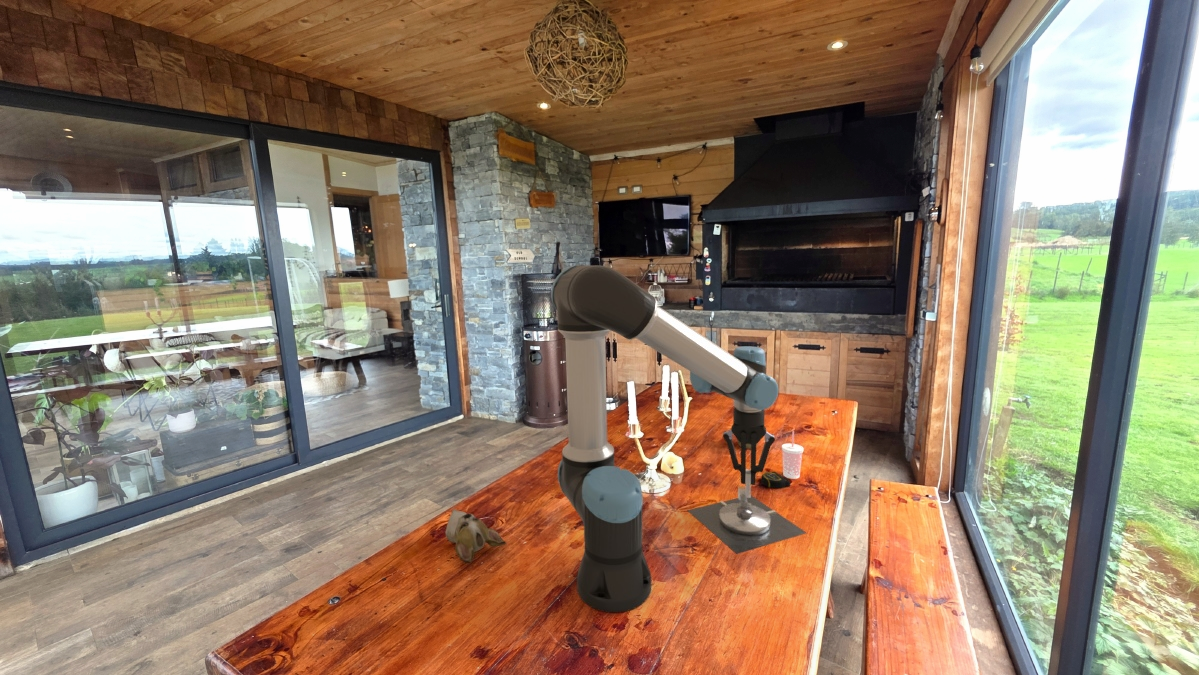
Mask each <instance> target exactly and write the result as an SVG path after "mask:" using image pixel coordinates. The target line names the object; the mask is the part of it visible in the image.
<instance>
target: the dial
mask: <svg viewBox="0 0 1199 675" xmlns="http://www.w3.org/2000/svg"><path fill="white" fill-rule="evenodd" d="M737 498H738V500H739V503H733V504H728V505H725V506H724V507H722V508H721V509H720V512H719V520H720V523H721V524H722V525H723V526H724V527H725V528H727V529H728V530H730V531H733V532H735V533H739V534H744V535H758V534H762V533H764V532H766V531H767V530H769V528H770V516H769V514H768V513H767V512H766V511H764V510H763V509H761V508H759V507H757V506H754V505H750V504H748V501H747V496H746V492H745V486H744V485H743V486H742V485H738V486H737Z"/></svg>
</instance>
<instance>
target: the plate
mask: <svg viewBox="0 0 1199 675" xmlns="http://www.w3.org/2000/svg"><path fill="white" fill-rule="evenodd" d="M747 501H748V504H750V505H754V506H757V507H759V508H761V509H763V510H764V511H766V512H767V513H768V514H769V516H770V528H769V530H767V531H766V532H764V533H762V534H758V535H744V534H739V533H735V532H733V531H730V530H728V529H727V528H725V527H724V526H723V525H722V524H721V523H720V520H719V512H720V509H721V508H722V507H724V506H725V505H728V504H733V503H739V500H738V497H736V498H732V499H729V500H725V501H723V500H719V502H716V503H712V504H709V505H704V506H700V507H696V508H691V509H688V510H687V512H688V513H689V514H691V516H693V517H694V518H695V519H696V520H697V521H699V522H700V523H701V524H702V525H703V526H704V527H706V528H707V530H709V531H710V533H712V534H713V535H714V536H716V537H717V538H718V539H719V540H720V541H721V542H722V543H723V544H724V545H725V546H726V547H728V549H730V550H731V551H732V552H734V553H735V554H736V555H738V554H741V553H745V552H748V551H751V550H755V549H758V548H762V547H765V546H768V545H772V544H776V543H777V542H778V543H779V542H781V541H785V540H789V539H792V538H794V537H799V536H802V535H805V534H807V532H806V531H804V530H803V529H801V527H799V526H797V525H796V524H795V523H793V522H792V521H791V520H788V519H787V518H785V517H784V516H783V515H781V514H780V513H778V512H777V511H776V510H775V509H772V508H771V507H769V506H768V505H766V504H765V503H763V502H762V501H761V500H759V499H758V498H756V497H755V496H753V495H751V498H747Z"/></svg>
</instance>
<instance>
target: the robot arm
mask: <svg viewBox="0 0 1199 675" xmlns="http://www.w3.org/2000/svg"><path fill="white" fill-rule="evenodd" d="M550 291H551V292H550V297H551V301H552V305H553V307H554V309H555V310H556V312H557V313H556V314H557V316H556V318H557V330H558V332H559V333H560V334H561V335H562V336H563V337H564V338H565V342H564V343H565V369H566V371H565V372H566V395H567V396H566V398H567V400H566V401H567V431H568V432H567V433H568V434H567V436H568V443H567V444H566V445H565V446H564V447H563V448H562V451H561V456H562V459H561V460H560V462H559V465H558V468H557V480H558V484H559V487H560V489H561V492H562V494H564V496H565V497H566V499H567V500H568V501H569V503H570V504H571V505H572V507H573V508H574V510H575V511H576V513H577V514H578V515H579V517H580V519H581V520H582V524H583V535H584V536H583V537H584V539H583V541H584V542H583V543H584V552H583V556H582V558H581V561H580V565H579V569H578V570H577V575H576V587H577V588H576V589H577V594H578V597H580V599H581V600H582V601H583V602H584V603H585V604H586V605H587V606H590V607H591V608H592V609H595V610H598V611H601V612H605V613H606V612H607V613H622V612H628V611H631V610H634V609H636V608H637V607H639V606H642V604H644V603H645V602H646V601H647V600H648V598H649V597H650V594H651V591H652V573H651V571H650V568H649V566H648V562H647V560H646V557H645V554H644V552H643V505H644V504H643V502H644V499H643V498H644V497H643V492H642V485H641V482H640V480H639V479H638V477H637V476H636V475H635V474H634V473H633V472H632V471H630V470H629V469H626V468H623V469H621V467H620V466H615V448H614V446H613V445H612V444H610V442H608V418H607V417H608V414H607V412H608V411H607V366H606V365H607V364H606V363H607V361H606V360H607V356H606V337H607V335H608V334H609V333H610V332H614V333H616V334H617V335H620V336H622V337H623V338H625V339H626V340H629V341H631V340H634V339H636V340H638V341H640V342H642V343H643V344H644V345H646V346H647V347H649V348H651V349H653V350H654V351H656V352H658V353H659V354H661V355H663V356H665V357H666V358H668V359H669V360H671V361H672V362H674V363H676V364H677V365H679V366H681V367H683V368H684V369H686V370H688V372H689V379H690V384H691V386H692V388H693V389H694V391H695V392H697V393H698V394H704V393H705V394H710V393H716V394H719V395H722V396H724V397H726V398H729V399H732V400H733V402H732V405H733V407H734V408H732V409H733V412H732V413H733V416H732V418H733V420H732V421H733V422H732V423H733V424H732V425H731V429H728V430H726V431H723V433H722V438H723V439H724V441H725V443H726V444H727V447H728V453H729V456H730V460H731V463H732V464H731V465H732V466H733V470H734V471H739V472H740V484H741V485H745V486H744V487H745V492H746V496H747V498H751V496H752V494H751V492H752V491H751V490H752V486H755V485H756V482H757V481H756V475H757V473H762V472H764V470H765V466H766V464H767V463H766V462H767V458H768V456H769V452H770V450H771V446H772V445H773V444H774V443H775V441H776V437H775V435H774V434H773V433H769V432H768V431H767V428H766V426H765V415H766V414H765V410H768V409H769V408H771V407H772V406H773V405H774V404H775V402H776V401H777V398H778V396H779V385H778V383H777V380H776V379H775V378H774V377H772V376H770V375H768V374H766V368H767V365H766V364H767V363H766V352H765V350H764V349H763V348H761V347H758V346H750V345H748V346H738V347H735V348H734V349H733V355H732V354H731V353H729V352H728V351H727V350H725V349H724V348H722V347H720V346H719V345H718V344H716V343H714V342H713V341H711V339H708V338H707V337H705V336H704V335H702V334H701V333H699V332H698V331H696V329H693V328H692V327H691V326H689V325H688V324H686V323H684V322H683V321H681V320H680V319H679V318H677V317H676V316H674V315H672V314H671V313H670V312H668V311H666V310H665V309H664V308H662V307H660V306H659V305H658V300H657V298H656V297H655V296H654V295H652V294H651V293H649V292H648V291H646V290H645V289H643V288H642V287H641V286H639V285H638V284H637V283H635V282H634V281H633V280H631V279H630V278H628V277H627V276H625V275H624V274H622V273H621V272H619V271H617V270H615V269H614V268H612V267H610V266H606V265H598V264H597V265H586V264H579V265H578V264H577V265H573V266H571V267H567V268H565V269H564V270H562V271H561V272H560V273H559V274H558V275H557V276H556V277H555V279H554V281H553V283H552V285H551V290H550ZM734 437H735V439H738V441H739V442H741V447H740V463H739V460H738V457H737V453H736V449H735V445H734V442H733V438H734ZM763 438H764V444H763V447H762V450H761V454H760V457H759V461H758V464H757V446H756V444H757V445H758V444H759V442H760V441H761V440H762V439H763ZM738 441H737V442H738ZM746 444H751V449H750V469H747V466H746V465H747V463H746V462H747V461H746V460H747V459H746V458H747V448H746ZM751 485H752V486H751Z"/></svg>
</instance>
